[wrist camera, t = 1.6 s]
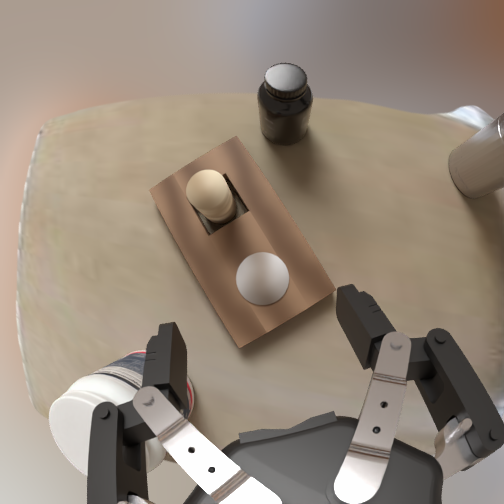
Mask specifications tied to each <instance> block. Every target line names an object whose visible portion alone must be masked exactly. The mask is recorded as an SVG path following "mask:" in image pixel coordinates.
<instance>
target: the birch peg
mask: <svg viewBox="0 0 504 504" xmlns="http://www.w3.org/2000/svg"><path fill="white" fill-rule="evenodd" d="M186 194H187V198H188V200H189V202H190V203H191V204H192V205H193V206H194V207H195V208H196V209H198V210H199V211H200V212H201V213H202V214H203V215H204V216H205V217H206V218H208V219H209V220H210V221H211V222H213V223H215V224H224V223H227V222H229V221H230V220H231V219H232V218H233V217H234V215H235V213H236V208H237V207H236V202H235V200H234V198H233V196H232V193H231V191H230V189H229V187H228V185H227V183H226V181H225V179H224V177H223V176H222V175H221V174H220V173H219V172H217V171H214V170H202V171H199V172H197V173H196V174H194V175H193V176H192V177H191V179H190V180H189V182H188V184H187V188H186Z"/></svg>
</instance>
